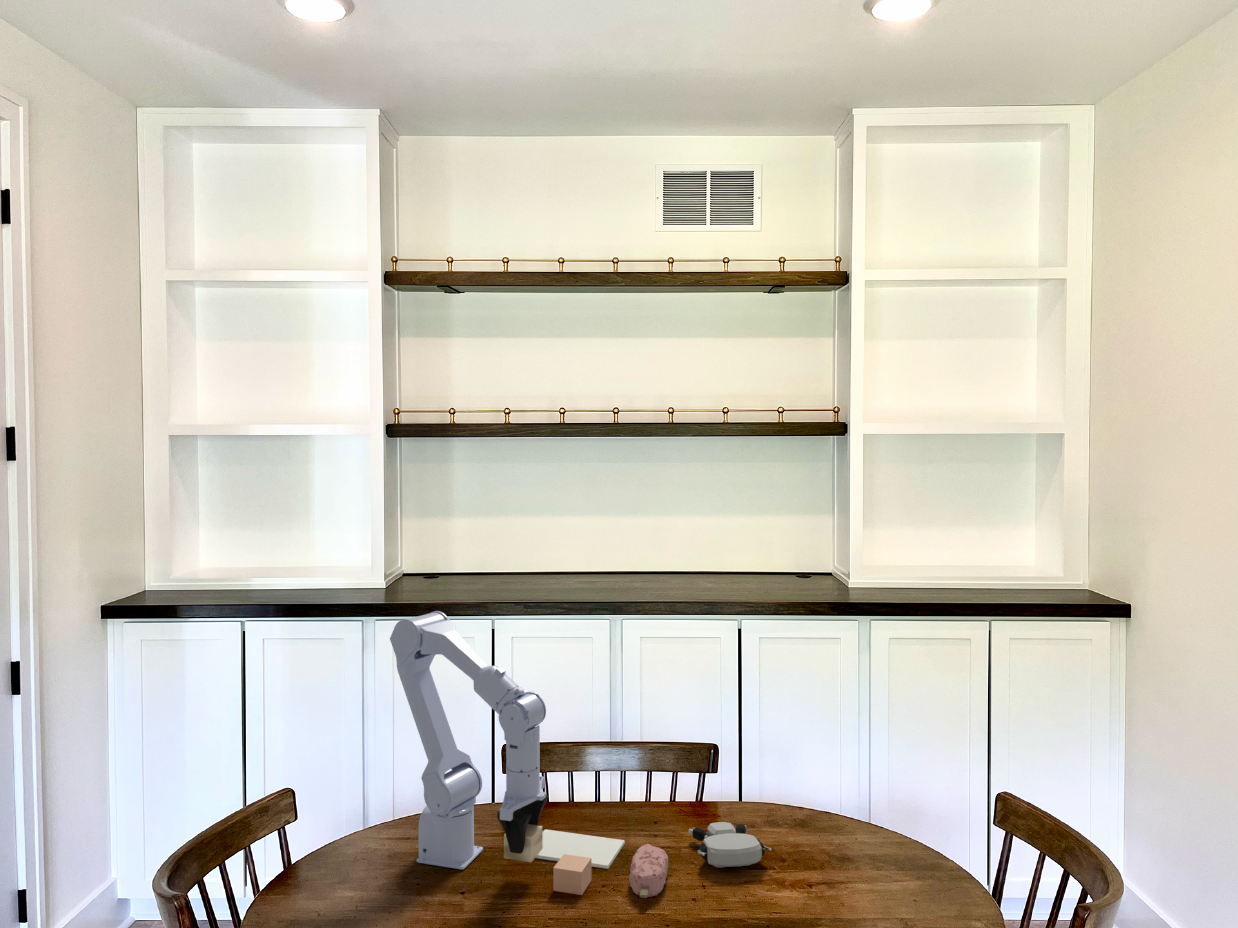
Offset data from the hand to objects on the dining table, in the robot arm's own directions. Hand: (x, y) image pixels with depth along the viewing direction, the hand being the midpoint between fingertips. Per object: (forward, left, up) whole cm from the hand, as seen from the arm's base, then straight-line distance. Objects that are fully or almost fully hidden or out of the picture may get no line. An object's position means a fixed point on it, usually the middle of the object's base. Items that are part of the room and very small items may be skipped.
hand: (523, 844), depth 147 cm
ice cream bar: (+21, +4, -6) cm, 22 cm away
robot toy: (+32, +18, -6) cm, 37 cm away
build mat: (+5, +12, -6) cm, 14 cm away
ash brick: (0, 0, -2) cm, 2 cm away
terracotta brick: (+9, 0, -6) cm, 11 cm away
